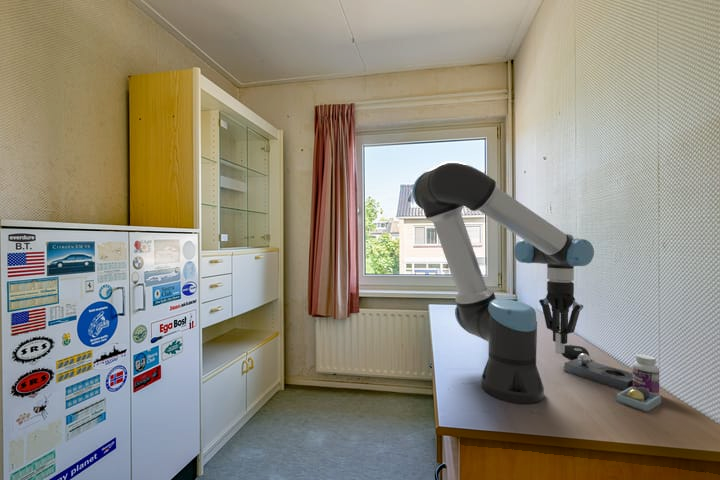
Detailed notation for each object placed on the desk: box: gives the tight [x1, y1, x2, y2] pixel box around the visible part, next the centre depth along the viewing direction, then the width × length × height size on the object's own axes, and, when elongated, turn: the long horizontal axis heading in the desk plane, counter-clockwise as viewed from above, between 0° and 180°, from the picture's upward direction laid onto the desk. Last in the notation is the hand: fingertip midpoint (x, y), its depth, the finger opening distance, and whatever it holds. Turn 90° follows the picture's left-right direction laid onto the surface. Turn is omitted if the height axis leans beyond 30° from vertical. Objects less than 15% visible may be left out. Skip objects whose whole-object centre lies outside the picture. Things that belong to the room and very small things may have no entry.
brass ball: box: [627, 389, 644, 402], centre depth 79 cm, size 3×3×3 cm
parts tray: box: [616, 387, 662, 413], centre depth 80 cm, size 9×6×2 cm, turn 121°
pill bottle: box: [632, 353, 660, 395], centre depth 85 cm, size 5×5×10 cm
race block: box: [564, 358, 633, 391], centre depth 95 cm, size 9×16×2 cm, turn 31°
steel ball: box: [578, 353, 591, 364], centre depth 99 cm, size 3×3×3 cm
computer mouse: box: [561, 343, 591, 361], centre depth 113 cm, size 8×12×4 cm, turn 166°
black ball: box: [636, 387, 649, 399], centre depth 81 cm, size 3×3×3 cm
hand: (560, 352), depth 105 cm, fingers closed
